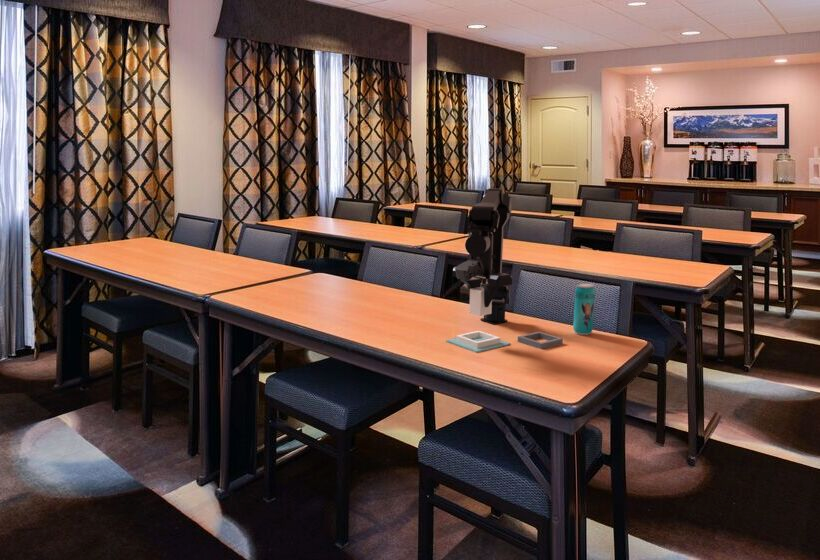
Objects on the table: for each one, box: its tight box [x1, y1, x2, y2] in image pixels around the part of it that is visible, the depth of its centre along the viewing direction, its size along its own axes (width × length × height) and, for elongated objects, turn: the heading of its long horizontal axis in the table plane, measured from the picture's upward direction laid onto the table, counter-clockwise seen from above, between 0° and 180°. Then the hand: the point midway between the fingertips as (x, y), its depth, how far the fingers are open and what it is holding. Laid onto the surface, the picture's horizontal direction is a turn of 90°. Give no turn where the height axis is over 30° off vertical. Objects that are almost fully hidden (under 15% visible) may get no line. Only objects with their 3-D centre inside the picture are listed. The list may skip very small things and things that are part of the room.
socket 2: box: [517, 331, 564, 350], centre depth 179 cm, size 9×9×2 cm
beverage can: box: [572, 282, 596, 336], centre depth 188 cm, size 6×6×15 cm
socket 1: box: [445, 330, 511, 354], centre depth 178 cm, size 13×13×2 cm
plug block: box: [468, 286, 492, 317], centre depth 176 cm, size 4×5×7 cm
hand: (480, 305), depth 176 cm, fingers closed on plug block, 4 cm apart
